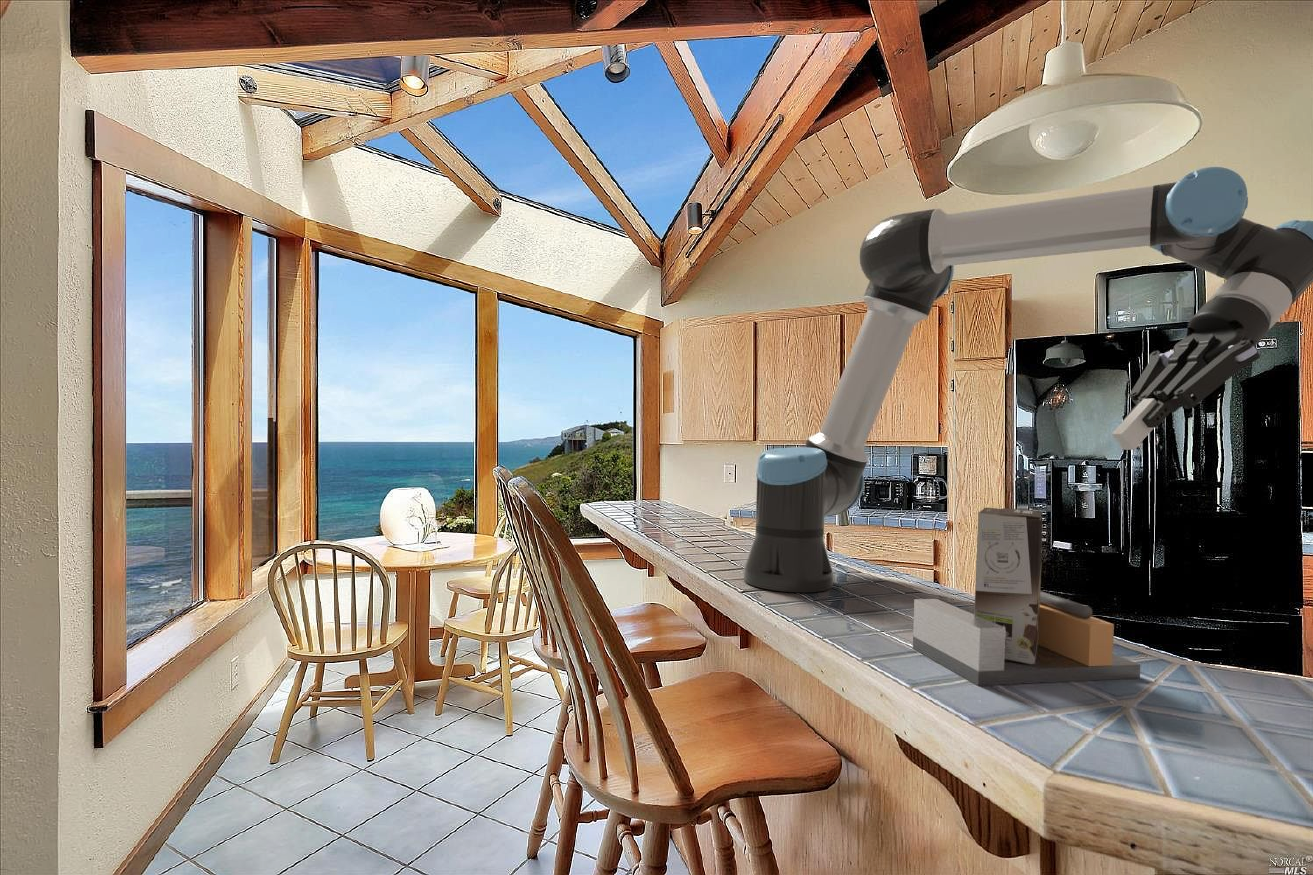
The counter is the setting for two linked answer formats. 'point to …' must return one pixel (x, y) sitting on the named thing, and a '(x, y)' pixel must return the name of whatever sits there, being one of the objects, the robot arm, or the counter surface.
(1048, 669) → the vise bed
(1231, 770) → the counter surface
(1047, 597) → the block
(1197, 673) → the counter surface
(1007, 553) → the coffee box
